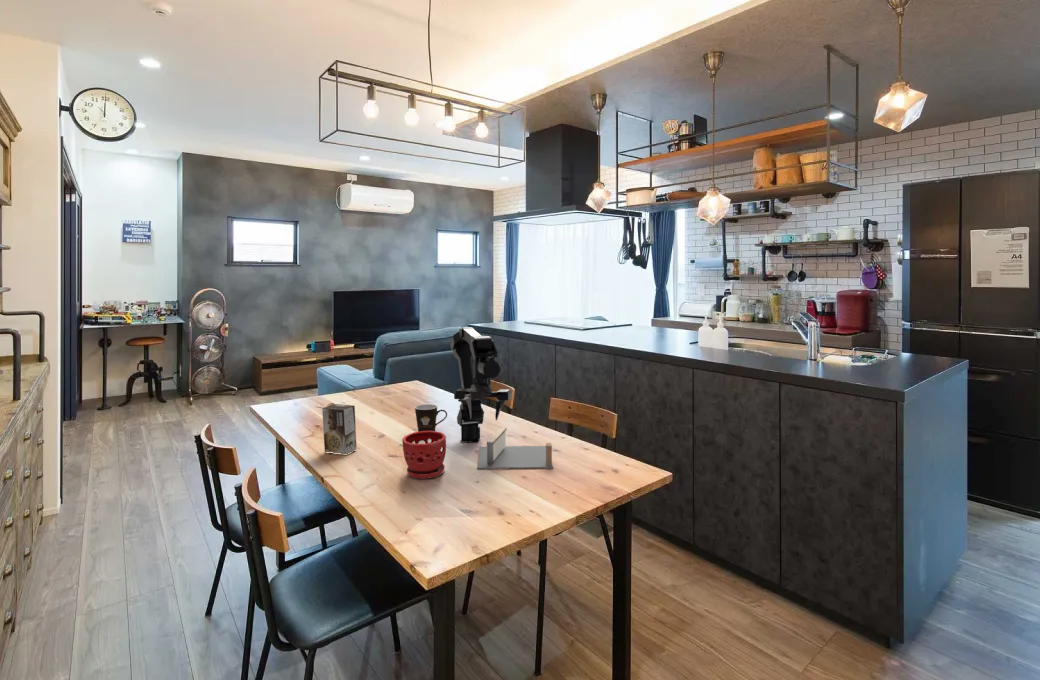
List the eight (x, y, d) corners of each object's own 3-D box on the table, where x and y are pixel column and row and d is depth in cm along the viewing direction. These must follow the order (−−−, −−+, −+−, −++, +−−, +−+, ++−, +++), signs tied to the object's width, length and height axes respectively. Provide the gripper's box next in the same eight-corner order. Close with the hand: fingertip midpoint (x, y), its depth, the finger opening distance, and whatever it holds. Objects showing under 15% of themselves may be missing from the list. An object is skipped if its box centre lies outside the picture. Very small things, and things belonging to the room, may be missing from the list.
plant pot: (408, 466, 178) (407, 430, 176) (449, 466, 177) (449, 430, 176) (398, 481, 165) (397, 442, 163) (442, 482, 164) (441, 443, 163)
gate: (492, 464, 176) (492, 443, 175) (486, 464, 177) (486, 442, 176) (506, 446, 194) (506, 427, 193) (501, 446, 195) (501, 426, 194)
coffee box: (357, 450, 193) (355, 405, 191) (346, 456, 187) (344, 409, 185) (335, 447, 196) (333, 403, 194) (323, 453, 190) (321, 407, 188)
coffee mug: (411, 433, 213) (410, 408, 211) (423, 427, 221) (422, 403, 219) (437, 437, 208) (436, 411, 207) (448, 431, 216) (448, 406, 215)
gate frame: (477, 469, 175) (477, 447, 174) (479, 448, 196) (479, 428, 195) (553, 468, 176) (553, 446, 175) (547, 447, 197) (547, 428, 196)
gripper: (448, 377, 180) (449, 424, 182) (504, 378, 177) (504, 426, 178) (458, 372, 191) (459, 416, 193) (511, 373, 188) (512, 418, 189)
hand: (483, 419), depth 188 cm, fingers open, 9 cm apart
